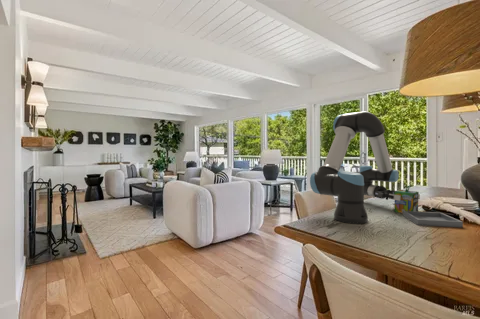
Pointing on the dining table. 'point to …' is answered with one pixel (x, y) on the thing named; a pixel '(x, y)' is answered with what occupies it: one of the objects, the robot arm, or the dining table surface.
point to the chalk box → (406, 201)
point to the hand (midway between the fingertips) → (409, 197)
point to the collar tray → (432, 219)
